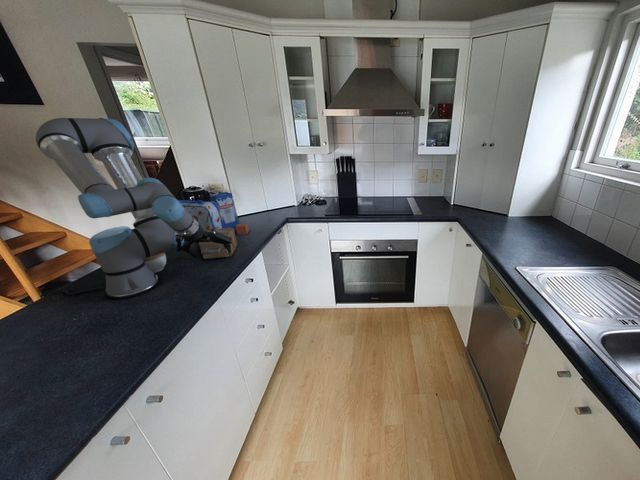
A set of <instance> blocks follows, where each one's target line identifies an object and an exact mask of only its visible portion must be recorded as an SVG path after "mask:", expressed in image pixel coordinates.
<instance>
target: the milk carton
mask: <svg viewBox="0 0 640 480" xmlns="http://www.w3.org/2000/svg"><path fill="white" fill-rule="evenodd" d="M208 196H209V199H210V202H213V203H215V204H216V205H217V206H218V207H219V210H220V212H221V213H222V215H223V217H222V223H223V227H224V228H234V227H236V226H237V224H240V222H239V218H238V213H237V210H236V204H235V200H234V197H233V193H232V192H228V191H223V192H218V193H213V194H209V195H208Z"/></svg>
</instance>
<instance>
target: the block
mask: <svg viewBox="0 0 640 480" xmlns="http://www.w3.org/2000/svg"><path fill="white" fill-rule="evenodd" d="M235 230H236V234H237V235H238V236H241V235H248V233H249V227H248V223H246V222H244V223H239V224H237V226H235Z"/></svg>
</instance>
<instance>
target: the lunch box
mask: <svg viewBox="0 0 640 480" xmlns="http://www.w3.org/2000/svg"><path fill="white" fill-rule="evenodd" d="M177 200H178V201H179V202H180V203H181V204H182V206H183V207H184V208H185V209H186V210H187V211H188V213H189V214H190V215H191V216H192V217H193V218H194V219H195V220H196V221H197V222H198V223H199V224H200V225H201V226H202V227H203V229H204V230H205V231H207V230H208V229H219V228H224V227H223V223H222V217H223V215H222V213H221V212H220V210H219V207H218V206H217V205H216V204H215V203H213V202H211V201H206V200H205V201H204V200H202V199H201V200H200V199H199V200H190V199H189V200H187V199H177Z"/></svg>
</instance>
